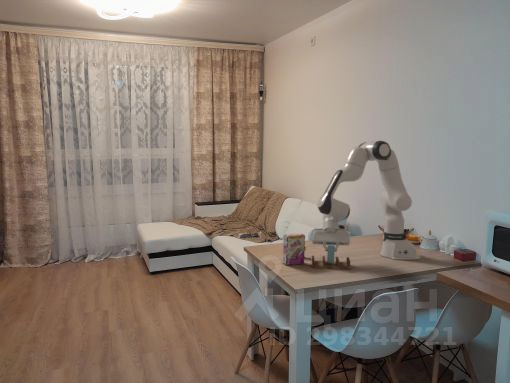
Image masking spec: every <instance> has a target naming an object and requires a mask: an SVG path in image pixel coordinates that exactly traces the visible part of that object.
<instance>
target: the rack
mask: <svg viewBox="0 0 510 383" xmlns="http://www.w3.org/2000/svg"><path fill="white" fill-rule="evenodd" d="M345 258H346V260H345V261H340V259H339V256H335V260H334V262H327V260H326V256H325V255H323V256H322V258H321V259H322V260H316V259H315V255H311V268H313V269H327V270H328V269H329V270H348V271H350V270H351V260H350V257H349V256H347V257H345Z"/></svg>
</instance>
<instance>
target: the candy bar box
mask: <svg viewBox="0 0 510 383" xmlns="http://www.w3.org/2000/svg"><path fill="white" fill-rule="evenodd" d="M305 243H306V235H305V234H303V233H300V232H299V233H289V234H283V244H282V246H283V248H282V264H284V266H293V265H302V264H303V265H304V264H305V252H304V250H305V247H306V245H305ZM305 251H306V250H305Z"/></svg>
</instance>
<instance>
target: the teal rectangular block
mask: <svg viewBox="0 0 510 383" xmlns="http://www.w3.org/2000/svg"><path fill="white" fill-rule="evenodd" d="M335 246H336V245H334V244H328V245H327V247H328V251H326V253H327V254H326V257H327V258H326V261H327V262H334V261H335V253H336V252H335Z"/></svg>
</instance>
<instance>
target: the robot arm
mask: <svg viewBox="0 0 510 383" xmlns="http://www.w3.org/2000/svg"><path fill="white" fill-rule="evenodd" d="M368 161H371V162H373V161H376V162H377V164H378V170H379V175H380V180H381V183H382V185H383V186H384V189H385V190H383V191H382V193H381V194H380V202H381V204H382V210H383V216H384V226H383V227H384V228H383V231H382V232H383V233H382V246H381V250H380V253H379V254H380V256H382V257H384V258H388V259H392V260H396V261H397V260H421V255H420V254H419V253H418V252H417V248H416V245H414V244H413V243H412V242H411V241H410V240H408V239H409V238H410V234H407V233H405V232H404V231H405V218H404V215H403V212H404V211H408V210H409V209H410V208H411V207H412V204H413V203H412V202H413V199H412V198H411V197H410V194H408V192H407V189H406V186H405V183H404V181H403V179H402V178H403V177H402V174H401V170H400V169H401V168H400V165H399V161H398V158H397V155H396V152H395V151H394V150H393V149H391V146H390V144H389V143H388V142H387V141H385V140H371V141H368V142H367V141H364V142H362V143H360V144H359V145H358V146H355V147H353V148H351V150H350V151H349V153H348V155H347V157H346V159H345V163H344V166H342V168H340V169H338V170H337V171H336V172H335V173H334V175H333V177H332V178H331V180H330V181H329V183H328V185H327V187H326V189H325V191H324V193H323V194H322V196H321V197H320V198H319V200H318V201H317V202H318V203H317V209H318V211H319V213H321V214H322V220H323V221H322V228H314V229H312V230H311V235H312V244H313V245H322V246H323V248H324V252H327V251H328V244H334V245H335V246H336V247H335V253H337V252H338V249H339V247H340V246H349V245H350V244H351V239H350V238H351V237H350V233H349V231H348V229H347V226H346V225H342V224H340V223H339V222H343V221H344V220H346V219H348V217H349V216H350V213H351V208H350V205H349V204H348V203H346V202H344V201H341V200H339V199H336V198H334V196H335V193H336V191H337V190H338V187H339V186H340V184H342V183H347V182H349V183H351V182H356V181H359V179H361V177H362V176H363V174H364V171H365V168H366V165H367V163H368ZM326 245H327V246H326Z"/></svg>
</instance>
